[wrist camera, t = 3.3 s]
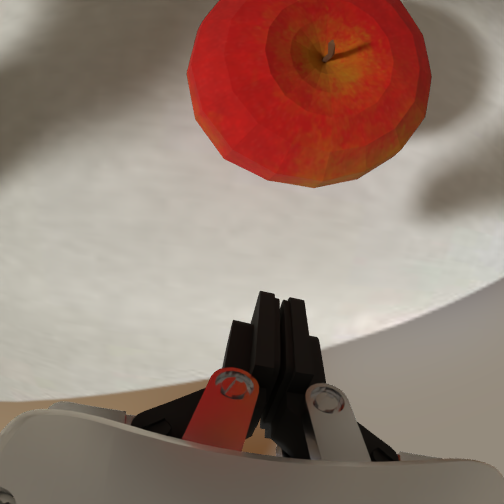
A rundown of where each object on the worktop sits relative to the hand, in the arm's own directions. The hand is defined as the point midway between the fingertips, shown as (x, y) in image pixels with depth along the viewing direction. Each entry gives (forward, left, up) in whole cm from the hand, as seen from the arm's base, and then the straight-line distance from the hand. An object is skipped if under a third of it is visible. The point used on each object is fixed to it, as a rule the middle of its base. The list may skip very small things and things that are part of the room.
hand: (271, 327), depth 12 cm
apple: (+9, +1, -10) cm, 14 cm away
